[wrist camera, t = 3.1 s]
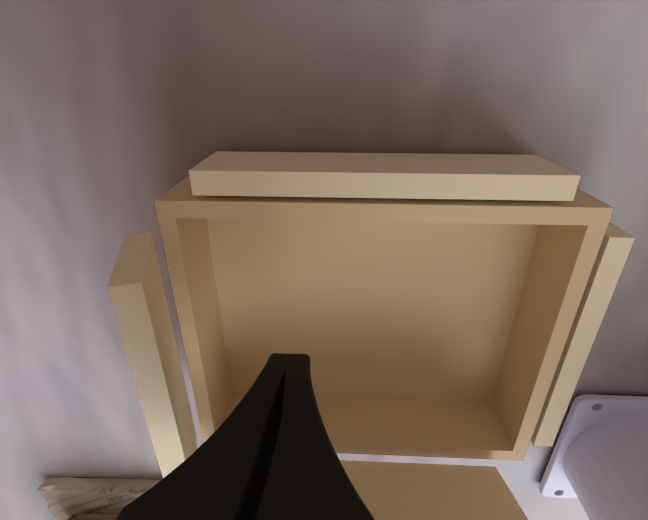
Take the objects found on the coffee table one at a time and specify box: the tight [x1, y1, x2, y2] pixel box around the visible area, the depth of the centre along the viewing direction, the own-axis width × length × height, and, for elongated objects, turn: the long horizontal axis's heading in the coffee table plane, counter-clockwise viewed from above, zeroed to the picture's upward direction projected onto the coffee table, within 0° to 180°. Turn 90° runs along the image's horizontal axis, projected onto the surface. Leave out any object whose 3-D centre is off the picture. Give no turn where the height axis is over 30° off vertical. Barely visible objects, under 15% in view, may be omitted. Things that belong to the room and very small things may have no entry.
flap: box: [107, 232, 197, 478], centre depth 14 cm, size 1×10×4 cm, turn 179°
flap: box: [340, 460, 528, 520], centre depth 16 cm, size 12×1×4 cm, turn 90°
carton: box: [154, 151, 635, 461], centre depth 16 cm, size 16×13×3 cm
